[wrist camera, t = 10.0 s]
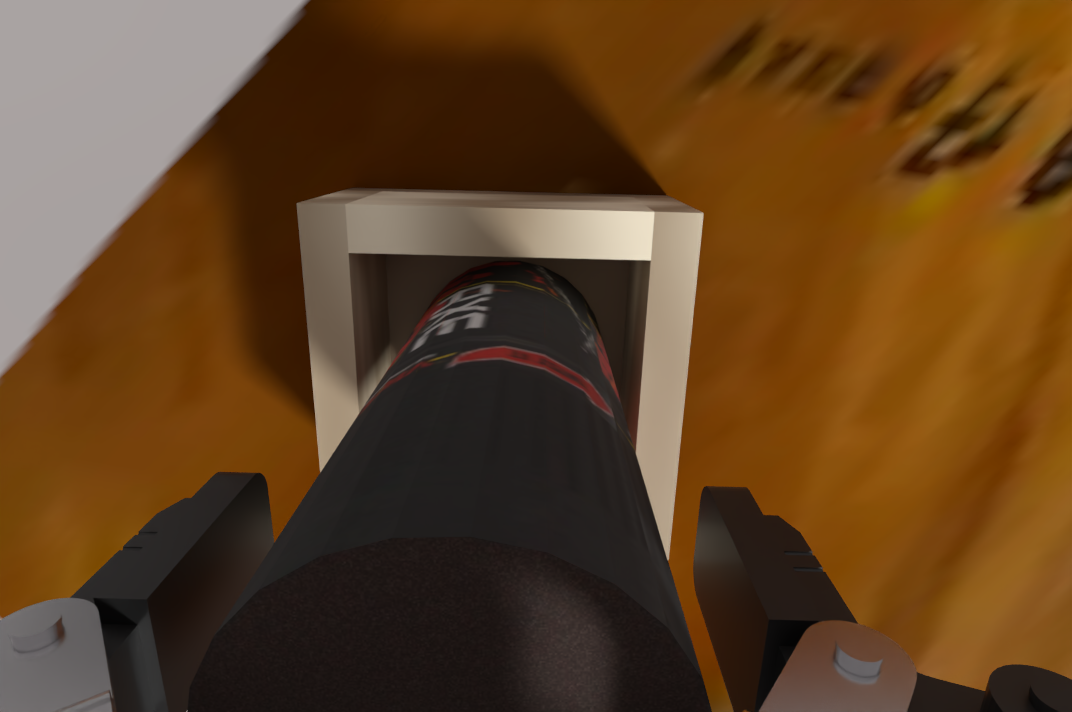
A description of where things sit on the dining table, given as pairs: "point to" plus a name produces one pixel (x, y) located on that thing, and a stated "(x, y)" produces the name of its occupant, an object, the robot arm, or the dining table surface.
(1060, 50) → the dining table surface
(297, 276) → the dining table surface
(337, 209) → the white wooden box
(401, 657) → the deodorant
